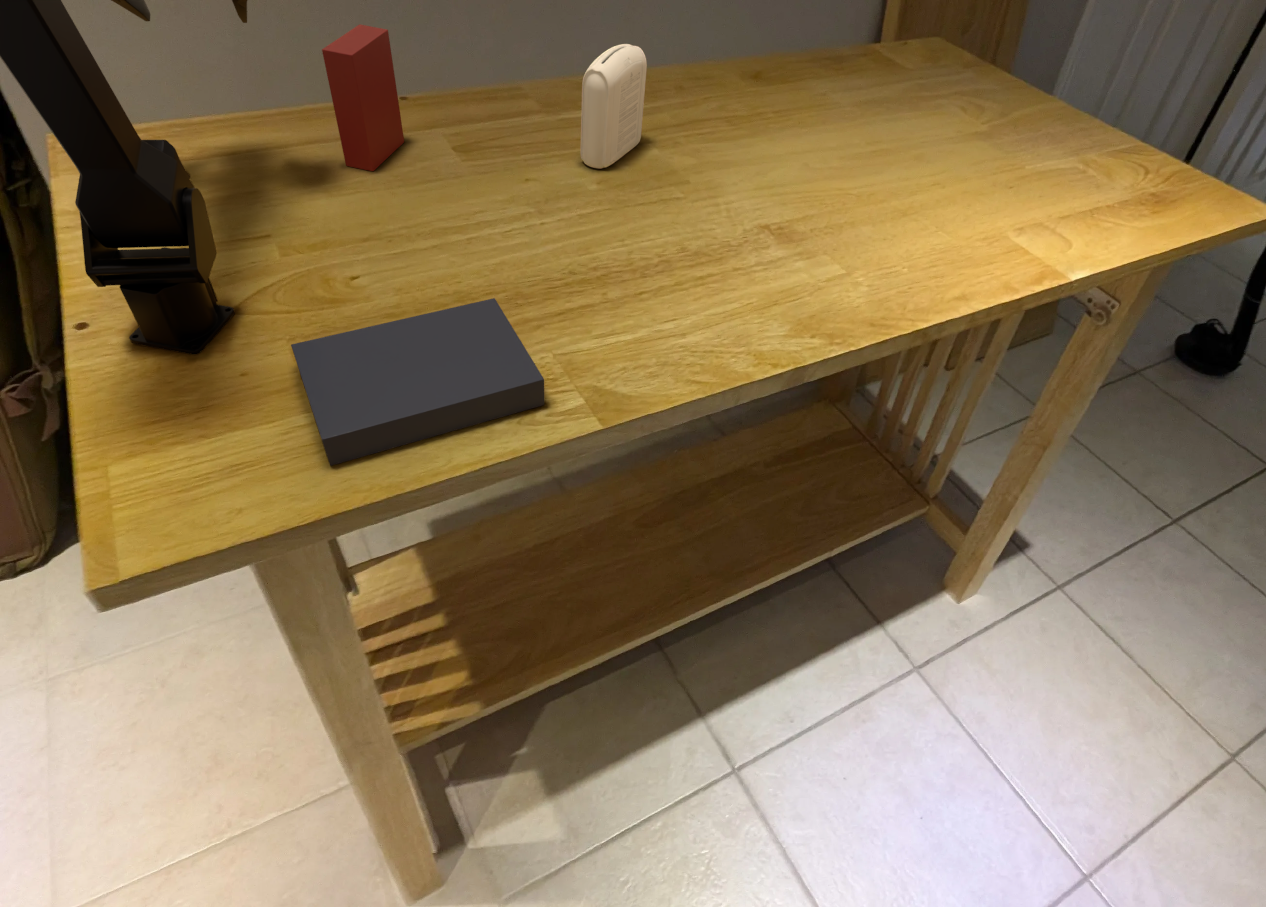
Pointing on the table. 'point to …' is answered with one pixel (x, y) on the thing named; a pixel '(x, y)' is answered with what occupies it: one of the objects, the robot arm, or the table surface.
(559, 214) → the table surface
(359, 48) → the small book
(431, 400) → the dark gray flat block
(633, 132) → the photo printer
